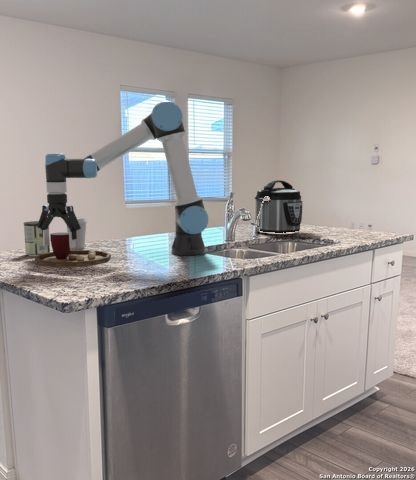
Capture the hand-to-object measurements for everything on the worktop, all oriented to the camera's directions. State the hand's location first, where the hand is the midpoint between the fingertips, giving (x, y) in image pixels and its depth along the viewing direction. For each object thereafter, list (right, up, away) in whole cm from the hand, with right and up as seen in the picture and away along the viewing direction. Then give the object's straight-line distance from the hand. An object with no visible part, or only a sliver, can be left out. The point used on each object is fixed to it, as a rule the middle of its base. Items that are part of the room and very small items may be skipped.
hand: (59, 246), depth 191 cm
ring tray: (+6, -6, -2) cm, 9 cm away
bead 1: (+11, -6, -9) cm, 15 cm away
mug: (0, -5, +1) cm, 5 cm away
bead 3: (+14, -5, -4) cm, 15 cm away
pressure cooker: (+102, +7, +97) cm, 141 cm away
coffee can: (-15, -4, +16) cm, 22 cm away
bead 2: (+13, -5, +2) cm, 13 cm away
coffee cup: (0, -2, +27) cm, 27 cm away
